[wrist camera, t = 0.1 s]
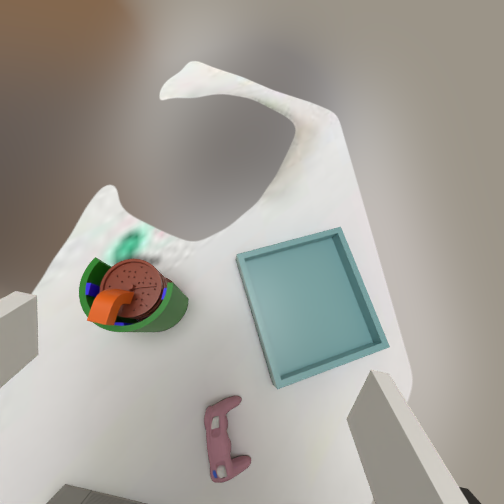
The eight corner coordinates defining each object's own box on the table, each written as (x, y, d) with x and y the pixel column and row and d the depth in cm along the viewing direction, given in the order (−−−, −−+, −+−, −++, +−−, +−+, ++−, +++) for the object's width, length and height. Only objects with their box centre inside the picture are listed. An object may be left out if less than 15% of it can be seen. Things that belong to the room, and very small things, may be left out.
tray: (377, 345, 47) (389, 347, 44) (273, 384, 44) (277, 389, 40) (332, 233, 52) (340, 226, 49) (235, 259, 49) (236, 254, 45)
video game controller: (217, 395, 44) (194, 411, 37) (242, 392, 42) (223, 408, 36) (227, 464, 41) (204, 494, 35) (254, 463, 40) (236, 494, 33)
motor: (190, 280, 47) (170, 247, 28) (184, 333, 44) (157, 338, 25) (131, 276, 46) (66, 239, 27) (121, 330, 43) (42, 333, 24)
